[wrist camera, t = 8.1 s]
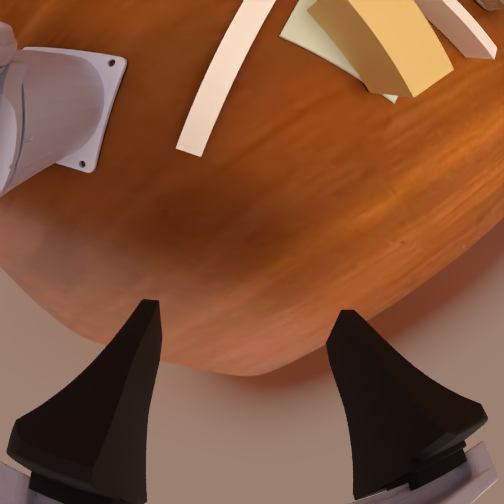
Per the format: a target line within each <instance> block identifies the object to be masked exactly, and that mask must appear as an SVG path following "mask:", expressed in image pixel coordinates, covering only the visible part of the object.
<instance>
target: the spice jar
mask: <svg viewBox="0 0 504 504" xmlns="http://www.w3.org/2000/svg"><path fill="white" fill-rule="evenodd" d="M475 1H476V2H477V3H478V4H479V5H480V6H482V7H483V8H484V9H486V10H488V11H493V10H497V9H504V0H475Z"/></svg>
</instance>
